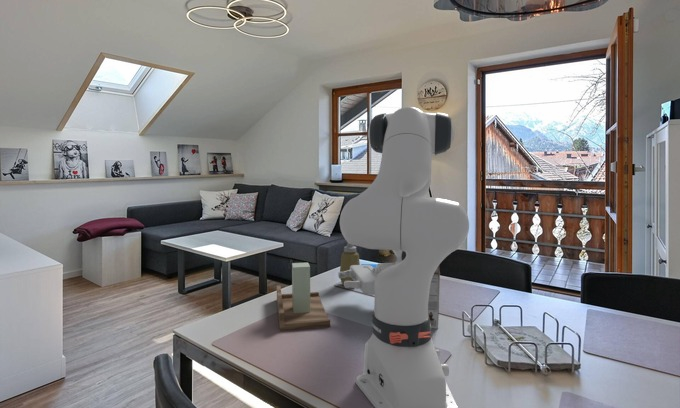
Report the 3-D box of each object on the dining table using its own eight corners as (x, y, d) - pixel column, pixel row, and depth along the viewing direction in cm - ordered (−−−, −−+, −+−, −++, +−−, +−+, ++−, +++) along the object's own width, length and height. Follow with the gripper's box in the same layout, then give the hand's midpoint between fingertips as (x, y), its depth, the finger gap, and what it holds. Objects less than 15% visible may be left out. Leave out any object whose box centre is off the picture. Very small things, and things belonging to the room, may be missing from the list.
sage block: (310, 312, 121) (310, 266, 119) (293, 313, 120) (293, 267, 118) (308, 306, 126) (308, 262, 124) (292, 307, 125) (292, 263, 123)
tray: (330, 326, 112) (330, 309, 112) (279, 330, 110) (279, 313, 109) (318, 297, 137) (318, 282, 136) (276, 299, 134) (276, 285, 133)
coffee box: (415, 315, 121) (417, 262, 119) (437, 316, 120) (439, 264, 118) (415, 327, 112) (416, 271, 110) (438, 329, 111) (440, 272, 109)
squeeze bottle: (347, 280, 156) (347, 234, 154) (365, 284, 151) (365, 237, 149) (334, 285, 149) (334, 237, 147) (352, 289, 145) (353, 240, 143)
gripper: (375, 259, 137) (335, 261, 134) (394, 276, 117) (348, 279, 114) (375, 277, 137) (335, 279, 135) (394, 297, 117) (348, 300, 115)
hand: (341, 279), depth 124 cm, fingers open, 8 cm apart
